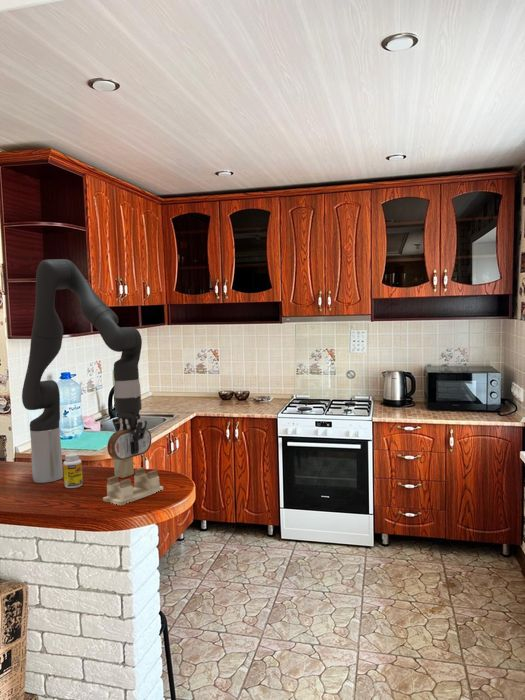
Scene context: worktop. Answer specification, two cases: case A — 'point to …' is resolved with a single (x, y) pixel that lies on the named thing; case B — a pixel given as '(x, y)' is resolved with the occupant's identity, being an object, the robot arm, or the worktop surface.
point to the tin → (127, 444)
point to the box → (123, 467)
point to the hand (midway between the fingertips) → (131, 452)
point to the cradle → (126, 492)
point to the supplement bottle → (72, 471)
